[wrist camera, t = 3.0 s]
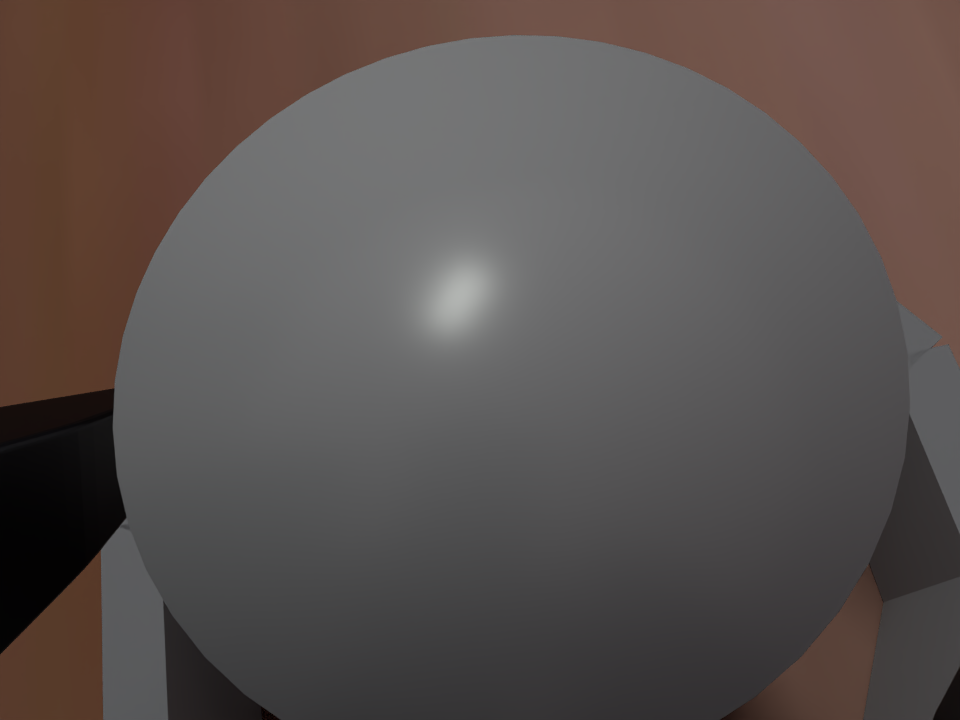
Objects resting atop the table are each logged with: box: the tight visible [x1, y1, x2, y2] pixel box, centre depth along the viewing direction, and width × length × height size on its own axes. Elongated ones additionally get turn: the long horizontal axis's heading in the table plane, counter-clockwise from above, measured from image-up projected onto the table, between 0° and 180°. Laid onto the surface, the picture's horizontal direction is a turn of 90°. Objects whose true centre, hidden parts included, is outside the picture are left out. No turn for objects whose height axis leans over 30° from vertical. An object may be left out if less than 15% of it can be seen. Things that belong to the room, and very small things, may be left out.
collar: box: [101, 302, 960, 720], centre depth 15 cm, size 14×14×4 cm
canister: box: [113, 35, 910, 720], centre depth 11 cm, size 5×5×12 cm
